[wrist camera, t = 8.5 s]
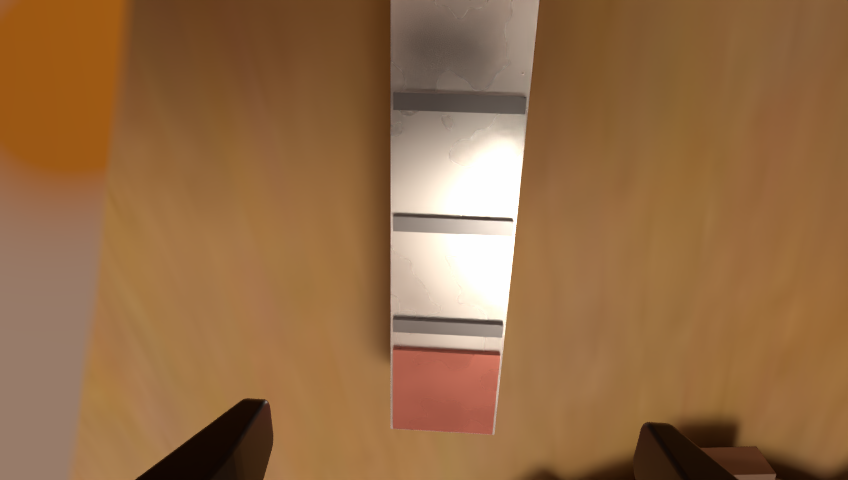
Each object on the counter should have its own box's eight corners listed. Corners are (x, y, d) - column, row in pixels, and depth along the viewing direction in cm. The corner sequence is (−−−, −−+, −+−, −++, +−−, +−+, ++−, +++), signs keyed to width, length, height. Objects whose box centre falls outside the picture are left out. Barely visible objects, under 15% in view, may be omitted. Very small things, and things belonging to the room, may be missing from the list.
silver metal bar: (523, -24, 17) (544, -38, 13) (487, 369, 23) (494, 438, 19) (404, -26, 17) (389, -41, 13) (400, 364, 23) (390, 432, 19)
